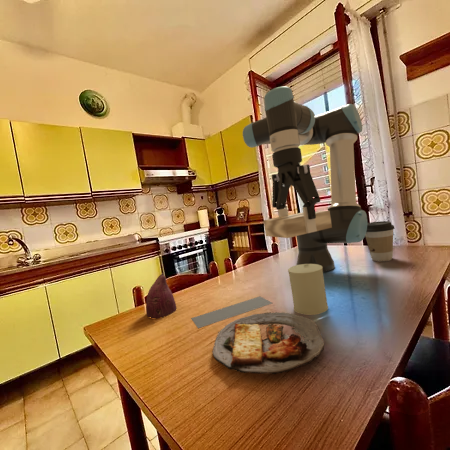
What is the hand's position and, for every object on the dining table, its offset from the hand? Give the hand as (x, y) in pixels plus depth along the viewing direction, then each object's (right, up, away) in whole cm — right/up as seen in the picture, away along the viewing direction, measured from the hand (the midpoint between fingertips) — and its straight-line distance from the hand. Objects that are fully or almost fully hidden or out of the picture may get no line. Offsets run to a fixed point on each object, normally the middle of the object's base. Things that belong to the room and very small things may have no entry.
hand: (297, 231), depth 71 cm
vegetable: (-41, -28, +17) cm, 53 cm away
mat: (-18, -25, +8) cm, 31 cm away
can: (+4, -22, +1) cm, 22 cm away
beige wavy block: (0, 0, 0) cm, 0 cm away
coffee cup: (+45, -12, +36) cm, 58 cm away
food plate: (-10, -25, -13) cm, 30 cm away
